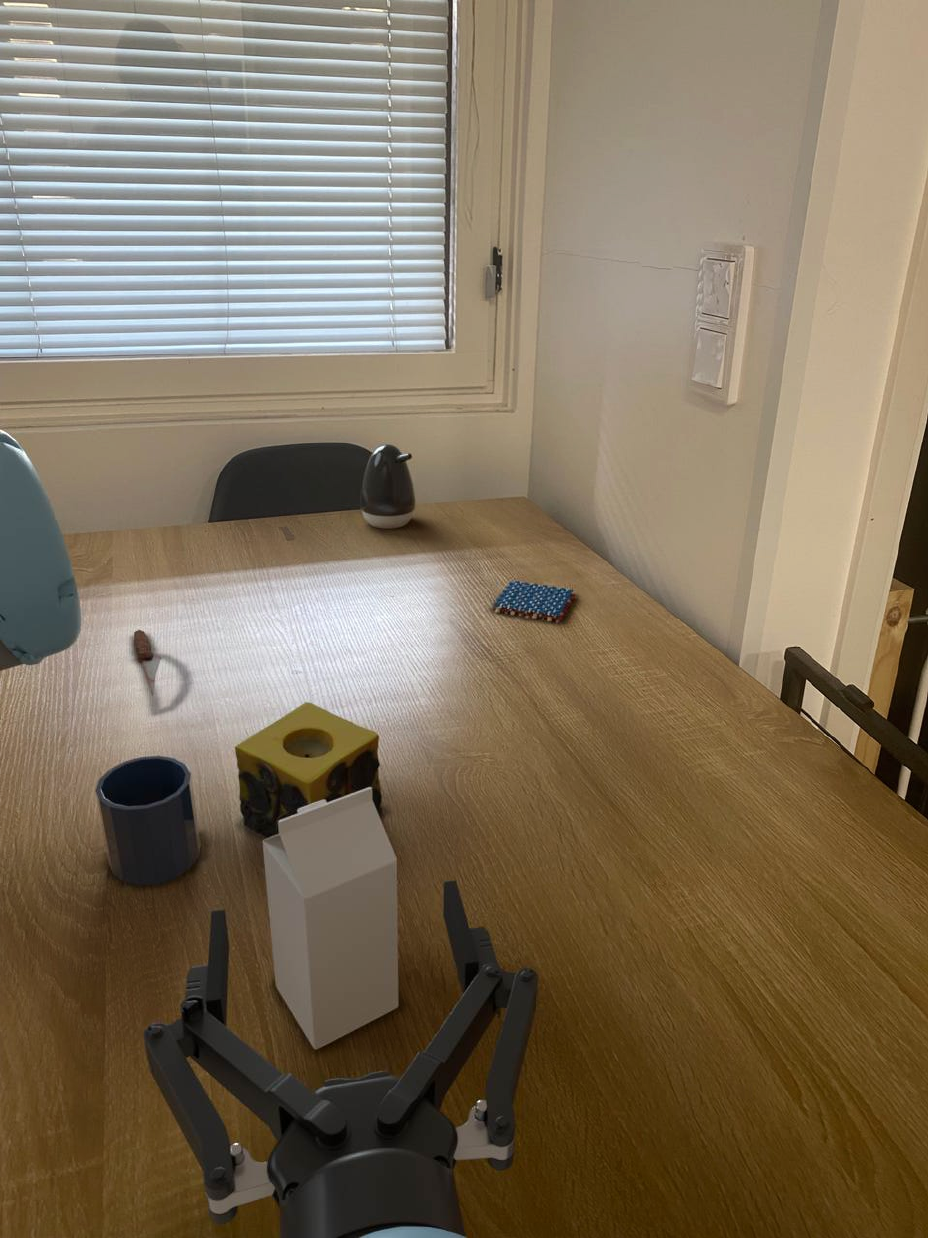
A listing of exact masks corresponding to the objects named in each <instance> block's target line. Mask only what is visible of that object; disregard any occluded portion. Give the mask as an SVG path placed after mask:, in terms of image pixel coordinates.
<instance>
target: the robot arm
mask: <svg viewBox="0 0 928 1238" xmlns="http://www.w3.org/2000/svg"><path fill="white" fill-rule="evenodd" d="M76 581H77V580H76V577H75V573H74V569H73V565H72V562H71V558H70V555H69V552H68V548H67V545H66V541H65V538H64V535H63V533H62V530H61V527H60V524H59V521H58V519H57V516H56V514H55V511H54V509H53V505H52V503H51V501H50V498H49V497H48V494H47V491H46V489H45V487H44V485H43V483H42V480H41V479H40V476H39V474H38V473H37V470H36V469H35V467H34V464H33V463H32V461H31V460H30V458H29V456H28V455H27V453H26V452H25V450H24V449H23V448H22V446H21V445H20V444H19V443H18V441H17V440H16V439H15V438H13V437H12V436H11V435H10V434H9V433H7V432H5V430H2V429H0V672H1V671H5V670H9V669H12V668H15V667H19V666H22V665H25V666H34V665H35V666H36V665H39V664H41V663H42V662H43V661H44V660H45V658H47V657H50V656H53V655H55V654H58V653H61V652H64V651H66V650H68V649H70V648H71V647H72V646H73V645H74V644H75V643H76V642H77V640H78V639H79V637H80V633H81V628H82V609H81V608H82V607H81V602H80V595H79V591H78V586H77V582H76ZM442 908H443V909H442V910H443V911H442V913H443V914H442V917H443V920H444V924H445V927H446V932H447V936H448V939H449V940H448V941H449V944H450V948H451V952H452V956H453V960H454V964H455V969H456V972H457V976H458V979H459V983H460V987H461V992H462V996H461V997H460V999H458V1001H457V1003H456V1004H455V1006H454V1007H453V1008H452V1010H451V1011H450V1013H449V1014H448V1015H447V1017H446V1019H445V1020H444V1021H443V1023H442V1024H441V1026H440V1027H439V1029H438V1030H437V1031H436V1034H434V1036H433V1038H432V1039H431V1041H430V1042H429V1044H428V1045H427V1046H426V1048H425V1050H423V1051H419V1052H417V1054H416V1055H415V1057H413V1060H412V1061H411V1062H410V1063H409V1065H408V1067H407V1068H406V1070H405V1071H404V1072H403V1074H402V1075H401V1076H396V1075H392V1074H390V1072H389V1069H387V1070H386V1069H385V1070H380V1071H375V1072H371V1073H368V1074H366V1075H363V1076H361V1077H359V1078H346V1077H337V1078H332V1079H325V1080H323V1086H320V1087H318V1088H316V1089H315V1090H314V1091H313V1090H312V1089H311V1088H310V1087H308V1086H307V1085H306V1084H305V1083H304V1082H302V1081H301V1080H300V1079H299V1078H298V1077H296V1076H295V1075H293V1074H292V1073H290V1072H287V1073H286V1074H284V1073H283V1072H282V1071H281V1070H279V1069H278V1068H277V1067H276V1066H275V1065H274V1064H272V1063H271V1062H270V1061H269V1060H267V1059H266V1058H265V1057H264V1056H263V1055H261V1053H259V1052H257V1051H256V1049H254V1048H253V1047H251V1046H250V1045H249V1044H248V1043H247V1042H246V1041H244V1040H243V1039H242V1038H240V1037H239V1036H238V1035H237V1034H236V1033H234V1032H233V1031H232V1030H231V1029H230V1028H228V1027H227V1017H228V1015H227V1013H228V988H229V987H228V986H229V964H230V963H229V961H230V960H229V959H230V939H229V931H228V925H227V915H226V909H219V910H212V911H211V912H210V914H211V915H210V927H209V928H210V929H209V944H208V945H209V946H208V959H207V964H204V965H197V966H196V965H195V966H191V968H190V969H189V971H188V973H187V976H186V985H185V997H184V999H183V1001H181V1004H180V1006H179V1009H180V1017H179V1018H178V1019H177V1020H175V1021H173V1022H171V1023H168V1024H166V1023H164V1022H161V1021H160V1022H153V1023H151V1024H149V1025H148V1026H147V1027H146V1028H145V1029H144V1031H143V1034H142V1036H143V1041H144V1048H145V1052H146V1053H145V1054H146V1058H147V1063H148V1068H149V1072H150V1074H151V1076H152V1078H153V1080H154V1081H155V1084H156V1085H157V1087H158V1089H159V1091H160V1093H161V1094H162V1095H161V1096H162V1097H163V1098H164V1101H165V1102H166V1104H167V1106H168V1109H169V1110H170V1111H171V1114H172V1115H173V1117H174V1120H175V1121H176V1123H177V1124H178V1125H177V1126H178V1127H179V1128H180V1130H181V1132H182V1134H183V1136H184V1138H185V1140H186V1142H187V1144H188V1146H189V1147H190V1149H191V1152H192V1153H193V1155H194V1157H195V1159H196V1161H197V1162H198V1165H199V1166H200V1168H201V1170H202V1173H203V1183H204V1190H205V1194H206V1201H207V1206H208V1213H209V1217H210V1221H212V1223H214V1224H215V1225H219V1226H220V1225H221V1226H222V1225H226V1224H228V1223H230V1222H231V1221H232V1220H233V1219H235V1218H236V1216H237V1214H238V1209H239V1206H241V1205H244V1204H248V1203H251V1202H254V1201H258V1200H262V1199H265V1198H268V1197H272V1198H273V1199H274V1201H275V1203H276V1204H277V1206H278V1208H279V1230H280V1231H279V1233H280V1235H279V1237H280V1238H468V1237H467V1235H466V1229H465V1226H464V1221H463V1214H462V1211H461V1204H460V1198H459V1195H458V1189H457V1185H456V1179H455V1175H454V1170H455V1166H456V1164H457V1161H467V1160H468V1161H469V1160H481V1159H487V1162H488V1164H489V1167H491V1168H492V1169H494V1170H496V1171H500V1172H503V1171H507V1170H508V1169H510V1168H511V1167H512V1166H513V1163H514V1153H515V1152H514V1151H515V1142H516V1141H515V1139H516V1116H515V1110H514V1103H515V1099H516V1095H517V1090H518V1086H519V1082H520V1079H521V1078H520V1077H521V1074H522V1069H523V1065H524V1061H525V1058H526V1052H527V1049H528V1044H529V1040H530V1036H531V1032H532V1027H533V1023H534V1019H535V1015H536V1012H537V1011H536V1010H537V997H538V985H539V984H538V983H539V982H538V981H539V975H538V972H537V971H536V970H534V968H530V967H521V968H520V969H518V970H517V971H516V972H514V971H513V972H511V971H508V970H505V969H503V968H502V966H500V964H499V962H498V958H497V956H496V952H495V949H494V946H493V943H492V940H491V936H490V932H489V931H488V930H487V929H486V928H485V927H484V926H476V927H470V925H469V922H468V918H467V915H466V911H465V908H464V904H463V900H462V897H461V894H460V890H459V887H458V882H457V880H448V881H443V907H442ZM502 1009H505V1012H504V1014H503V1019H502V1023H501V1027H500V1030H499V1034H498V1037H497V1040H496V1045H495V1048H494V1050H493V1051H494V1052H493V1054H492V1055H493V1056H492V1059H491V1062H490V1066H489V1070H488V1073H487V1078H486V1082H485V1083H486V1084H485V1098H484V1099H479V1100H478V1101H476V1103H475V1105H473V1106H472V1107H471V1108H470V1110H469V1113H468V1118H467V1120H466V1122H464V1124H462V1125H460V1126H456V1125H455V1124H454V1122H453V1121H452V1120H451V1119H450V1118H449V1117H448V1116H447V1115H445V1113H444V1112H442V1111H441V1109H442V1106H443V1102H444V1099H445V1096H446V1095H447V1093H448V1091H449V1090H450V1088H451V1087H452V1085H453V1084H454V1082H455V1080H456V1079H457V1078H458V1076H459V1074H460V1073H461V1071H462V1070H463V1068H464V1066H465V1065H466V1063H467V1061H468V1060H469V1058H470V1057H471V1056H472V1054H473V1052H474V1050H475V1049H476V1047H477V1045H478V1044H479V1042H480V1041H481V1039H482V1038H483V1036H484V1034H485V1033H486V1031H487V1030H488V1028H489V1026H490V1025H491V1023H492V1022H493V1020H494V1018H495V1017H496V1016H497V1018H499V1019H500V1018H501V1016H502V1015H501V1014H502ZM187 1058H190V1059H191V1060H192V1061H194V1063H196V1065H198V1066H199V1067H200V1068H202V1070H204V1071H205V1072H206V1073H207V1074H208V1075H210V1077H212V1078H213V1079H214V1080H215V1081H216V1082H217V1083H218V1084H220V1085H221V1086H222V1087H223V1088H224V1089H226V1090H227V1092H229V1093H230V1094H231V1095H232V1096H233V1097H235V1098H236V1099H237V1100H238V1101H239V1102H240V1103H241V1104H242V1105H243V1106H245V1107H246V1108H247V1109H248V1110H249V1111H250V1112H251V1113H252V1114H253V1115H255V1116H256V1118H258V1119H259V1120H261V1121H262V1122H263V1123H264V1124H265V1125H266V1126H267V1127H268V1128H269V1129H270V1131H271V1133H272V1135H273V1137H274V1138H275V1140H277V1142H276V1143H275V1145H274V1147H273V1148H272V1149H271V1152H270V1153H269V1156H268V1158H267V1161H257V1160H255V1159H254V1157H252V1154H251V1152H250V1150H249V1149H248V1148H246V1147H244V1146H243V1145H242V1144H241V1143H239V1142H235V1143H232V1144H231V1142H230V1141H231V1140H230V1136H229V1133H228V1130H227V1127H226V1125H225V1123H224V1120H223V1119H222V1117H221V1116H220V1114H219V1112H218V1110H217V1109H216V1107H215V1105H214V1103H213V1101H212V1100H211V1098H210V1097H209V1095H208V1093H207V1091H206V1090H205V1088H204V1086H203V1084H202V1083H201V1081H200V1079H199V1077H198V1076H197V1075H196V1072H195V1070H194V1069H193V1067H192V1066H191V1064H190V1062H189V1060H188V1059H187Z"/></svg>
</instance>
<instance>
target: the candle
mask: <svg viewBox="0 0 928 1238" xmlns="http://www.w3.org/2000/svg"><path fill="white" fill-rule="evenodd" d="M379 740H380V736H379V734H378V733H377V732H376V731H374V730H371V729H368V728H366V727H363V726H360V725H358V724H356V723H354V722H352V721H350V720H348V719H345V718H343V717H341V716H339V715H337V714H334V713H332V712H331V711H328V710H326V709H325V708H322V707H320V706H317V705H316V704H314V703H313V702H307V701H305V702H304V703H302V704H301V705H299V706H298V707H296V708H295V709H293V710H291V711H290V712H288V713H287V714H285V715H284V716H282V717H281V718H279V719H277V720H275V721H274V722H272V723H271V724H269V725H267V726H266V727H265V728H263V729H260V730H259V731H257V732H256V733H254V734H252V735H251V736H249V737H247V738H246V739H244V740H242V741H241V742H239V743H238V744H236V745H235V746H234V751H235V752H234V753H235V757H236V766H237V769H238V775H237V777H238V784H239V795H238V796H239V801H240V804H239V810H240V811H239V812H240V814H241V815H242V817H243V818H242V821H243V823H242V824H243V825H244V827H247V828H249V829H250V830H252V831H254V832H255V833H257V834H259V835H261V836H263V837H266V839H267V838H269V837H272V836H274V835H277V834H279V828H278V821H279V820H281V819H284V818H287V817H289V816H292V815H295V814H298V812H297V810H298V809H299V808H301V807H304V806H307V805H309V804H312V803H315V802H318V801H320V800H326V802H330V801H333V800H336V799H338V798H341V797H344V796H347V795H349V794H352V793H355V792H357V791H360V790H363V789H366V788H368V787H371V788H372V800H373V803H374V805H375V808H376V810H377V812H378V815H379V816H381V815H382V812H383V808H382V806H381V805H382V801H383V799H382V798H383V794H382V791H381V784H380V782H381V781H380V774H379V767H380V766H381V764H380V761H379V754H378V752H379V742H380V741H379Z"/></svg>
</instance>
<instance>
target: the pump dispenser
mask: <svg viewBox="0 0 928 1238" xmlns="http://www.w3.org/2000/svg"><path fill="white" fill-rule="evenodd" d="M412 458H413V454H412V453H410V452H409V453H404V454H403V453H402V451H401V450H400V449H399V448H398V446H396V445H393V444H390V443H384V444H381V445H379V446H377V447H376V448H375V449H374V450H373V451H372V453H371V455H370V457H369V459H368V462H367V464H366V467H365V469H364V473H363V476H362V482H361V488H360V495H359V508H360V510H361V512H362V516H363V518H364V519H365V521H366V522H367V523H368V524H369V525H370V526H372V527H373V528H377V529H382V530H383V529H385V530H391V529H398V528H399V529H400V528H403V527H404V526H406V525H407V524H408V523H409V522H410V521H411V519H412V517H413V515H414V512H415V510H416V508H417V501H416V493H415V492H416V491H415V486H414V482H413V478H412V475H411V471H410V468H409V465H408V463H407V461H409V460H412Z"/></svg>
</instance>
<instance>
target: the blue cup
mask: <svg viewBox="0 0 928 1238" xmlns="http://www.w3.org/2000/svg"><path fill="white" fill-rule="evenodd" d="M95 787H96V788H95V790H94V792H95V796H96V801H97V807H98V813H99V819H100V822H101V823H100V824H101V829H102V833H103V834H102V835H103V840H104V844H105V851H106V855H107V861H108V865H109V868H110V871H111V873H112V875H113V876H114V877H115V878H117V880H120V881H121V882H123V883H125V884H129V885H135V886H138V887H139V886H153V885H159V884H162V883H166V882H169V881H171V880H174V879H176V878H179V877H180V876H181V875H183V874H184V873H186V872H187V871H189V870H190V869H192V867H193V866H194V864H195V863H196V862H197V860H198V859H199V858H200V853H201V839H200V831H199V824H198V815H197V807H196V800H195V793H194V785H193V777H192V772H191V770H190V769H189V767H188V765H187V763H185V762H183V761H181V760H180V759H177V758H176V757H170V756H165V755H148V756H147V755H146V756H140V757H139V756H138V757H136V758H132V759H128V760H125V761H122V762H121V763H119V764H117V765H115V766H113V767H111V768H109V769H108V770H107V771H106V772H105V773H104V774H103V775H102V776H101V777H100V778H99V779H98V781H97V784H96V786H95Z"/></svg>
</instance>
